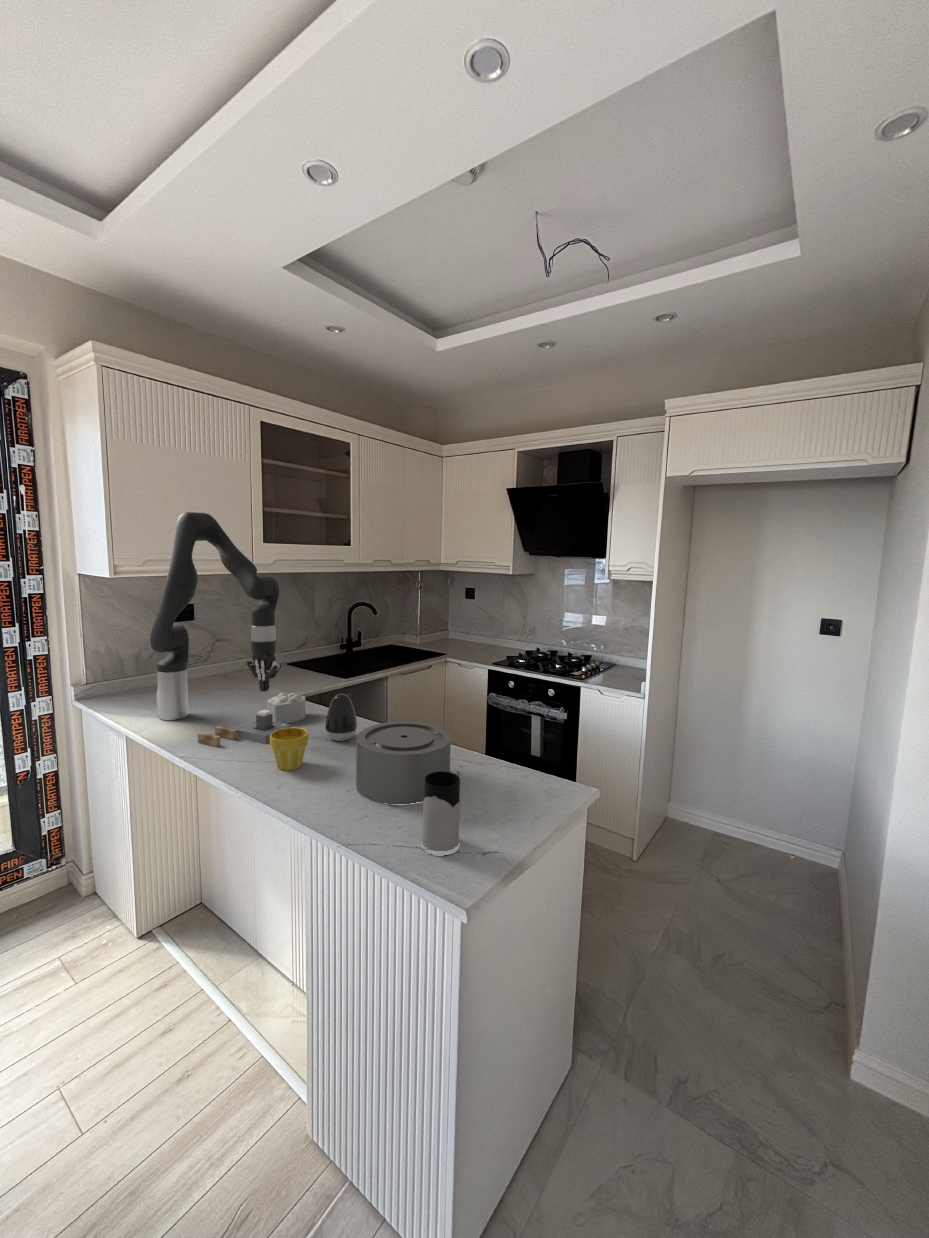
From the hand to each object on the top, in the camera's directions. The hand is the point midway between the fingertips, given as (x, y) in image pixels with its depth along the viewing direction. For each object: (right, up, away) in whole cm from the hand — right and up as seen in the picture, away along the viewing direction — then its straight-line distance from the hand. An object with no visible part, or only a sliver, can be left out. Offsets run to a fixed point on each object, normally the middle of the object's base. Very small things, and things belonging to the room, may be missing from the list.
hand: (264, 690), depth 172 cm
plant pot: (+16, -19, -22) cm, 33 cm away
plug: (-1, -15, +2) cm, 15 cm away
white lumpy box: (+1, -13, +20) cm, 23 cm away
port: (0, -15, +2) cm, 15 cm away
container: (+49, -21, -30) cm, 61 cm away
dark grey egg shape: (+25, -16, +1) cm, 30 cm away
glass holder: (+62, -25, -56) cm, 87 cm away
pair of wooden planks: (-13, -15, -5) cm, 21 cm away
